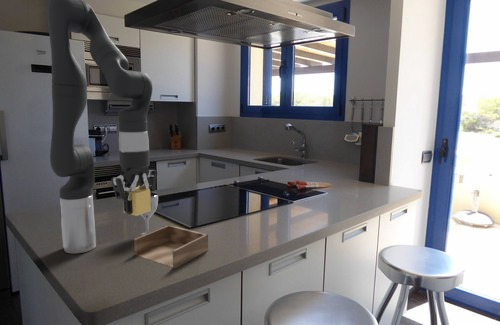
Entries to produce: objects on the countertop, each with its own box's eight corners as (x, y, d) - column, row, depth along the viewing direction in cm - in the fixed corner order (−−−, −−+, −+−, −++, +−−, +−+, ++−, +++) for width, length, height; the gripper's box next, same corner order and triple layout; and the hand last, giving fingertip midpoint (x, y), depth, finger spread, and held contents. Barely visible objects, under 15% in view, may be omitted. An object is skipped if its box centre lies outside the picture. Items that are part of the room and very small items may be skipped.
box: (134, 256, 107) (133, 239, 106) (169, 240, 119) (169, 224, 118) (175, 270, 98) (174, 251, 97) (208, 251, 111) (208, 234, 110)
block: (123, 212, 95) (122, 191, 94) (138, 208, 99) (137, 187, 98) (136, 215, 92) (135, 193, 91) (150, 211, 96) (150, 189, 95)
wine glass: (161, 231, 128) (160, 191, 125) (156, 240, 120) (154, 197, 117) (139, 231, 127) (137, 191, 125) (133, 240, 120) (130, 197, 117)
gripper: (145, 145, 101) (147, 202, 103) (101, 150, 88) (105, 215, 91) (164, 146, 97) (166, 206, 100) (121, 152, 85) (124, 220, 87)
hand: (137, 210), depth 95 cm, fingers closed on block, 5 cm apart
